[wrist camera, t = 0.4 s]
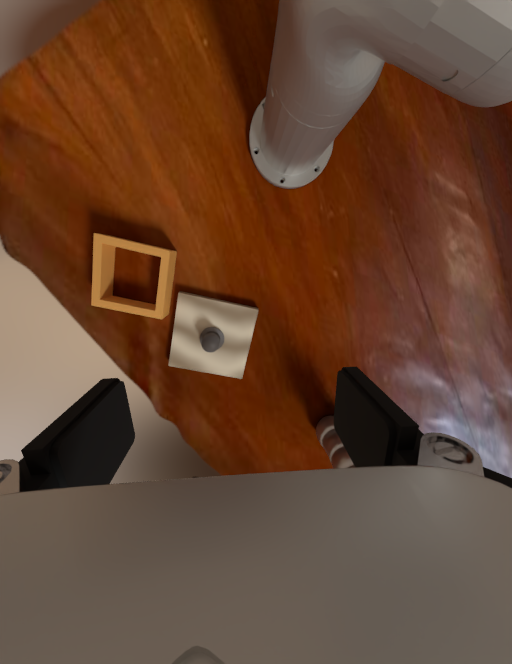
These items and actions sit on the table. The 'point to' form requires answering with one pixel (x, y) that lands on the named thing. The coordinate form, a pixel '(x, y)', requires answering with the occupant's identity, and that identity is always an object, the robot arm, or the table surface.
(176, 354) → the board
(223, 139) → the table surface
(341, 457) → the plastic bottle
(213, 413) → the table surface
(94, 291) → the tan square frame
